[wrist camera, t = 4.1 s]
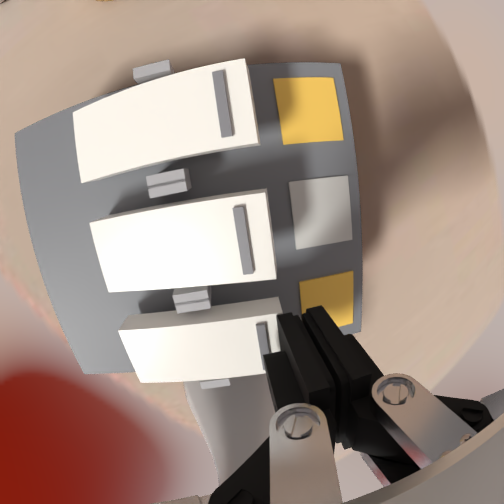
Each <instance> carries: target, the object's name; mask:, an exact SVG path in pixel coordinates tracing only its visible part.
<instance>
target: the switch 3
mask: <svg viewBox="0 0 504 504" xmlns="http://www.w3.org/2000/svg"><path fill="white" fill-rule="evenodd" d="M280 314H283V312H282V308H281V305H280V301H279V298H278V297H273V298H266V299H259V300H253V301H246V302H239V303H231V304H224V305H216V306H211V308H210V309H204V310H198V311H191V312H185V313H178V314H177V310H175V311H166V312H156V313H146V314H136V315H128V316H127V318H126V319H125V321H124V322H123V324H122V326H121V327H120V329H119V330H118V332H119V334H120V337H121V339H122V342H123V344H124V346H125V349H126V351H127V353H128V356H129V358H130V360H131V362H132V365H133V367H134V369H135V371H136V373H137V375H138V378H139V380H140V382H141V383H151V382H181V381H198V380H211V379H222V378H232V377H241V376H249V375H257V374H264V373H266V371H265V366H264V360H263V355H264V354H269V353H274V352H279V351H281V349H280V342H279V334H278V327H277V319H276V315H280Z"/></svg>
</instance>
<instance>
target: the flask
mask: <svg viewBox="0 0 504 504" xmlns="http://www.w3.org/2000/svg"><path fill="white" fill-rule="evenodd" d="M199 382H200V380H198V381H183V384H184V389H185V395H186V398H187V401H188V403H189V406H190V408H191V410H192V412H193V414H194V416H195V419H196V421H197V423H198V425H199V427H200V429H201V431H202V434H203V436H204V438H205V440H206V443H207V445H208V447H209V449H210V451H211V453H212V455H213V459H214V463H215V466H216V470H217V474H218V481H219V486H220V485H221V484H222V483H223V482H224V481H225V480H226V479H228V478H229V477H230V476H231V475H232V474H233V473H234V472H235V471H236V470H237V469H238V468H239V467H240V466H241V465H242V464H243V463H244V462H245V461H246V460H247V459H248V458H249V457H250V456H251V455H252V454H253V453H254V452H255V451H256V450H257V449H258V448H259V447H260V445H261V444H262V443H263V442H264V441H265V440H266V439H267V438H268V437H269V425H270V420H271V418H272V417H273V415H274V414H275V410H274V406H273V402H272V398H271V394H270V390H269V386H268V381H267V377H266V373H264V374H257V375H249V376H241V377H232V378H230V386H223V387H216V388H208V389H202V388H201V385H200V383H199Z"/></svg>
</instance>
